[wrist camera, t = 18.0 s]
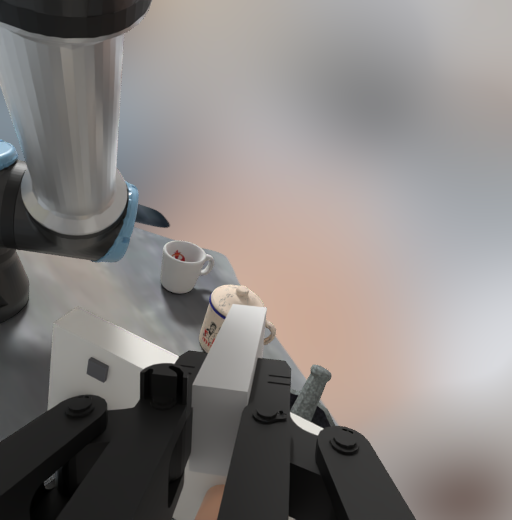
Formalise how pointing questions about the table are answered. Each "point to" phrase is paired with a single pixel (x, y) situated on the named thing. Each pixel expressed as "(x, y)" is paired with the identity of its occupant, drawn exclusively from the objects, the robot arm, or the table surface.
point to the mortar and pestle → (312, 399)
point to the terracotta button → (211, 504)
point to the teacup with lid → (219, 309)
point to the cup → (183, 266)
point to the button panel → (119, 381)
